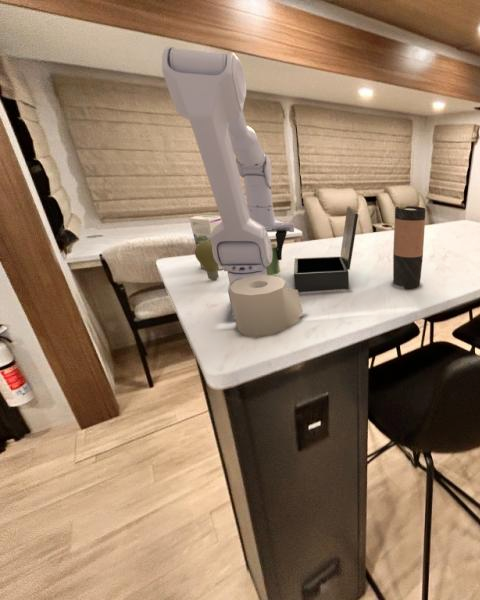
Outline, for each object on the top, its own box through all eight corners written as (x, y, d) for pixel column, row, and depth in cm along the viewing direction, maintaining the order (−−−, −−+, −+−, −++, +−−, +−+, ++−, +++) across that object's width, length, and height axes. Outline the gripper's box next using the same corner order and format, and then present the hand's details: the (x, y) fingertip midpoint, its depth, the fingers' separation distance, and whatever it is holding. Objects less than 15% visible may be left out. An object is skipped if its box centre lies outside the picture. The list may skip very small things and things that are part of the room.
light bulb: (196, 280, 80) (187, 242, 76) (217, 275, 84) (209, 238, 80) (210, 285, 77) (201, 245, 73) (230, 278, 82) (223, 241, 78)
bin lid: (355, 213, 70) (358, 214, 70) (347, 206, 82) (349, 206, 82) (346, 269, 75) (349, 269, 75) (340, 254, 87) (342, 255, 87)
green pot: (280, 274, 80) (276, 248, 78) (256, 276, 79) (252, 249, 76) (281, 268, 85) (278, 243, 83) (259, 269, 84) (255, 243, 81)
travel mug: (418, 291, 79) (423, 210, 71) (389, 288, 80) (391, 208, 72) (422, 281, 86) (427, 207, 78) (395, 278, 87) (398, 205, 79)
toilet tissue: (313, 314, 65) (310, 276, 61) (259, 343, 54) (252, 299, 51) (282, 302, 69) (278, 266, 65) (227, 328, 58) (217, 286, 54)
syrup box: (231, 264, 93) (222, 215, 87) (219, 270, 88) (208, 218, 82) (213, 263, 94) (203, 214, 88) (200, 269, 88) (188, 217, 82)
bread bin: (296, 295, 74) (293, 274, 71) (296, 276, 85) (294, 258, 83) (348, 291, 77) (348, 271, 75) (342, 274, 89) (341, 256, 87)
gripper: (292, 204, 81) (296, 254, 86) (230, 203, 77) (239, 256, 82) (291, 207, 75) (296, 261, 80) (224, 207, 71) (235, 264, 76)
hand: (267, 259), depth 81 cm, fingers closed on green pot, 5 cm apart
